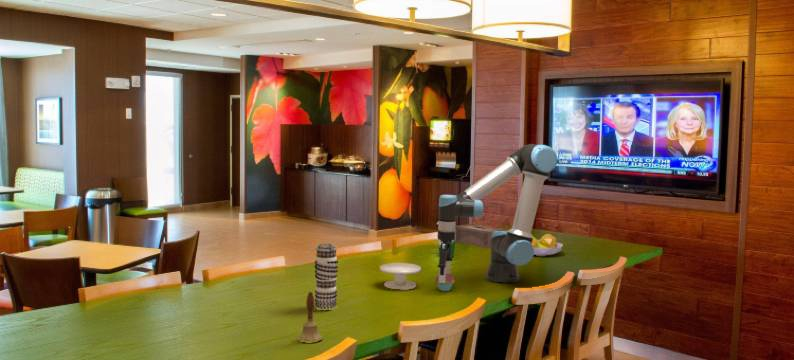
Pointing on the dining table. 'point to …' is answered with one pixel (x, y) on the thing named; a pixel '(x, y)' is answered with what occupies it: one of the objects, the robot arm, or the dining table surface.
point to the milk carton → (451, 246)
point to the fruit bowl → (546, 245)
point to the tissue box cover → (475, 235)
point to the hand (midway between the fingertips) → (444, 278)
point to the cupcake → (448, 282)
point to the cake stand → (400, 275)
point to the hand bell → (310, 322)
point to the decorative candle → (326, 276)
